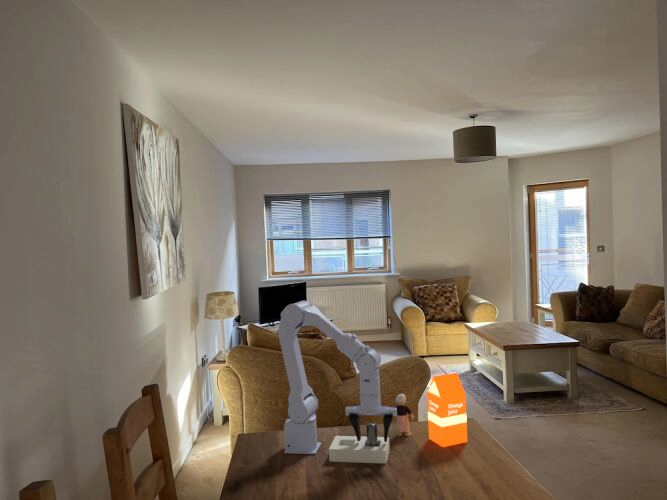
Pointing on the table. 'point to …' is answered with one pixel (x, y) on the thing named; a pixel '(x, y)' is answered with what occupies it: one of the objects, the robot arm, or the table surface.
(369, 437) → the peg
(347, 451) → the hole block
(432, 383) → the orange juice
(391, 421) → the robot arm
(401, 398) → the grandmother figurine
